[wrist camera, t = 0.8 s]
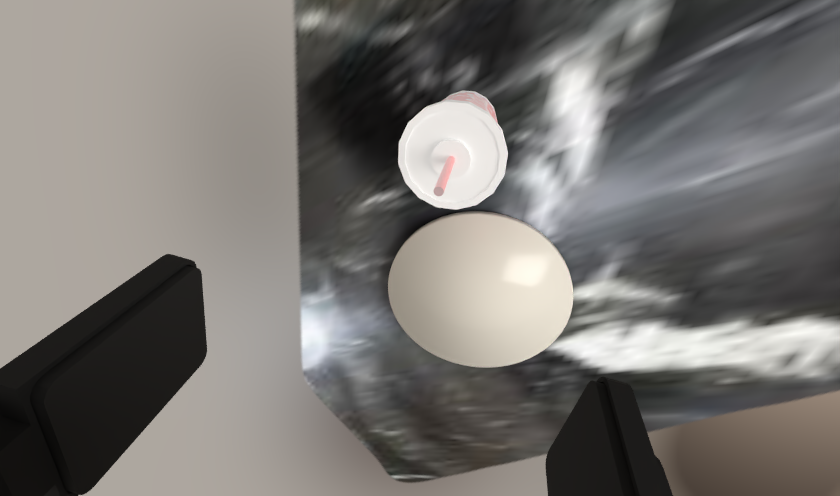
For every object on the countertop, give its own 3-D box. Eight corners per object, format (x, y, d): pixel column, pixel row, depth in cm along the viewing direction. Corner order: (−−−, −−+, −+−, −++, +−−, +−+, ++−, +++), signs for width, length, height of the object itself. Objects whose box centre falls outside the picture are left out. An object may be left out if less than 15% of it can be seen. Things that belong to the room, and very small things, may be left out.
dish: (410, 186, 34) (407, 191, 33) (603, 240, 33) (606, 247, 32) (378, 331, 42) (375, 339, 41) (533, 377, 41) (534, 386, 40)
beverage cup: (525, 117, 30) (538, 184, 18) (470, 179, 33) (448, 273, 21) (459, 59, 29) (426, 90, 17) (408, 129, 32) (348, 197, 20)
